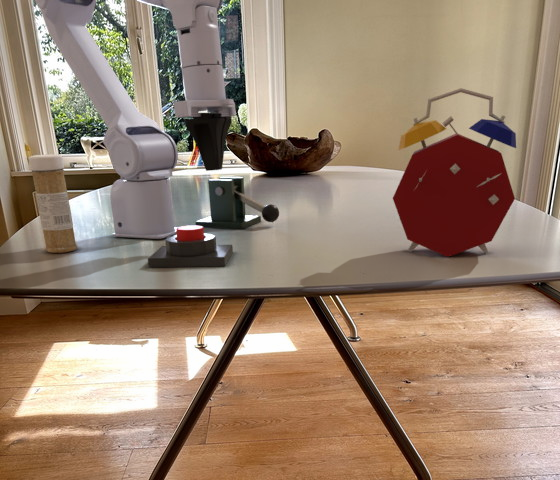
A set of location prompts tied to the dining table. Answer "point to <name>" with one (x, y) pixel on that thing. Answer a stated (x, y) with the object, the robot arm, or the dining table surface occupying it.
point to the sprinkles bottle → (53, 202)
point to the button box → (191, 253)
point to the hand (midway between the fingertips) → (214, 170)
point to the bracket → (227, 205)
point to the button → (190, 233)
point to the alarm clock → (454, 184)
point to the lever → (258, 206)
